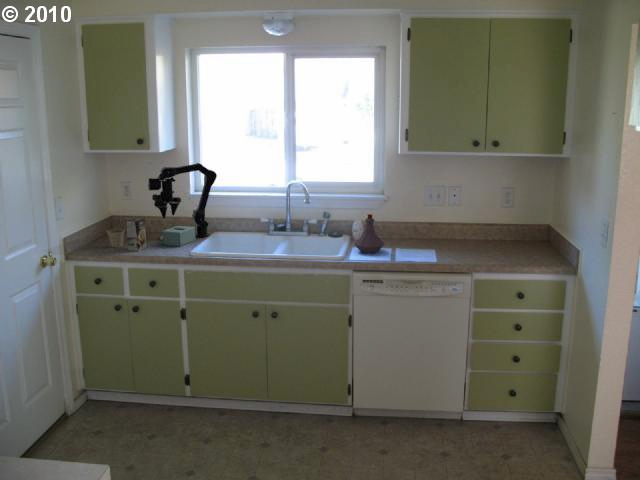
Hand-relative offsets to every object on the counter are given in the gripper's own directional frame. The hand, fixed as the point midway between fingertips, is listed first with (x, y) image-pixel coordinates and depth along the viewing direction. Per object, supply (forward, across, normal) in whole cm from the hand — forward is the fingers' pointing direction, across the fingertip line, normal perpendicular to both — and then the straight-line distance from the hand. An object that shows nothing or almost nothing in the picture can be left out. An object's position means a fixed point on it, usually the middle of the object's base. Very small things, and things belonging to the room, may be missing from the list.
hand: (168, 216), depth 373 cm
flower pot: (+13, +27, -16) cm, 34 cm away
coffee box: (+13, +28, -2) cm, 31 cm away
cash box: (+13, +7, +11) cm, 18 cm away
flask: (+13, -12, +116) cm, 117 cm away
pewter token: (+13, +1, -2) cm, 14 cm away
